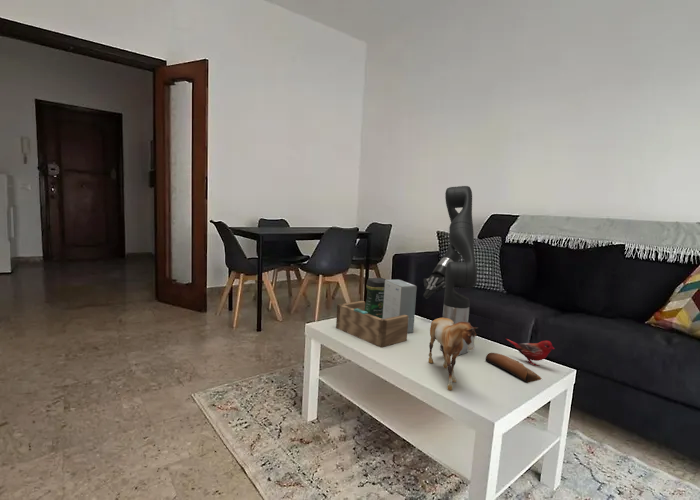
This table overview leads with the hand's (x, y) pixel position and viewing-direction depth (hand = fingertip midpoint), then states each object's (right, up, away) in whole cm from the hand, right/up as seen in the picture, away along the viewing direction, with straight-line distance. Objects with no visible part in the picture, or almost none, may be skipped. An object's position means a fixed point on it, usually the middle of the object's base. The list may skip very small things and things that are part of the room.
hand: (425, 297), depth 184 cm
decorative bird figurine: (+28, -18, -42) cm, 54 cm away
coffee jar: (-23, -10, +5) cm, 25 cm away
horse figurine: (-2, -18, -55) cm, 58 cm away
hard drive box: (-14, -12, -10) cm, 21 cm away
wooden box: (-26, -13, -20) cm, 36 cm away
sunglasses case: (+20, -19, -49) cm, 56 cm away
